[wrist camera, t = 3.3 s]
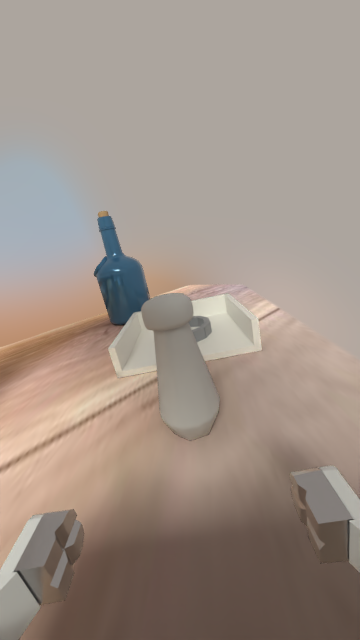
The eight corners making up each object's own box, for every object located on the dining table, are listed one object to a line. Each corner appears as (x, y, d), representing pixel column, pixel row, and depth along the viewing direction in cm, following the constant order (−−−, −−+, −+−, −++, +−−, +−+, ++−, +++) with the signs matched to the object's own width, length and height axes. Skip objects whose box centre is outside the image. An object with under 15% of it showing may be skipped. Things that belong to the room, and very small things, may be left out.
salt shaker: (203, 396, 26) (180, 285, 22) (236, 426, 21) (213, 289, 17) (157, 420, 24) (122, 302, 20) (180, 460, 19) (139, 311, 15)
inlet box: (261, 350, 33) (258, 318, 32) (117, 378, 34) (107, 348, 33) (231, 313, 52) (227, 293, 51) (139, 332, 53) (133, 312, 52)
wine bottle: (154, 308, 75) (130, 211, 66) (153, 319, 62) (123, 201, 53) (114, 317, 74) (84, 221, 66) (104, 330, 62) (66, 213, 53)
